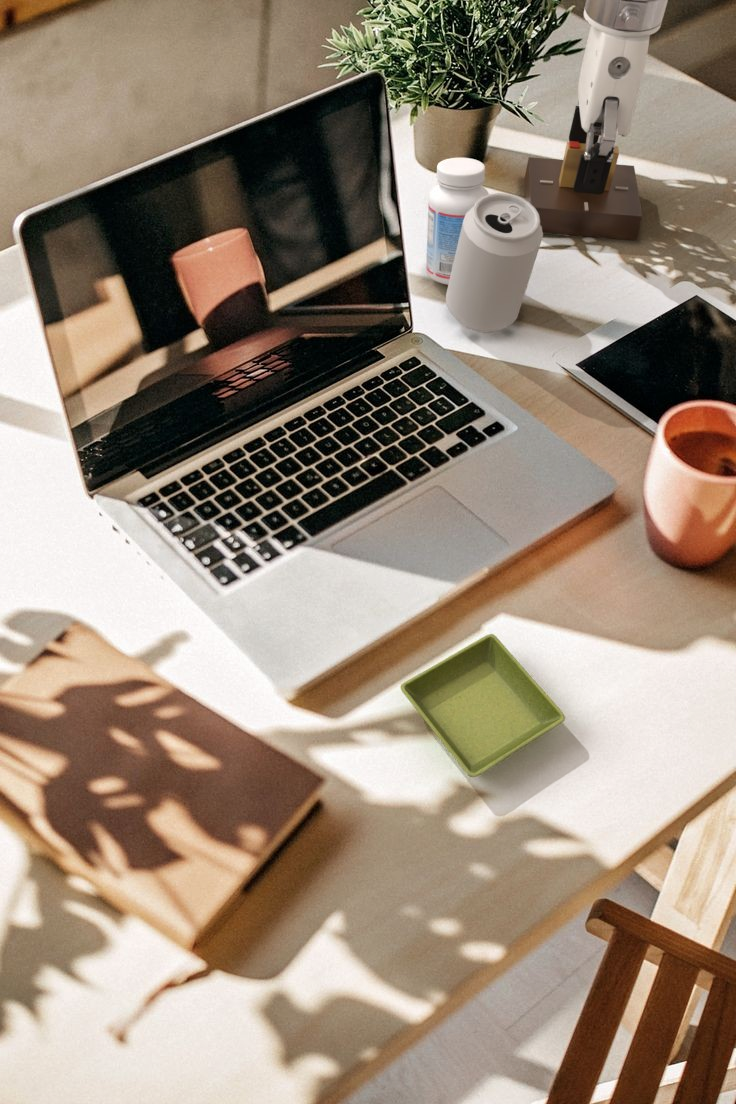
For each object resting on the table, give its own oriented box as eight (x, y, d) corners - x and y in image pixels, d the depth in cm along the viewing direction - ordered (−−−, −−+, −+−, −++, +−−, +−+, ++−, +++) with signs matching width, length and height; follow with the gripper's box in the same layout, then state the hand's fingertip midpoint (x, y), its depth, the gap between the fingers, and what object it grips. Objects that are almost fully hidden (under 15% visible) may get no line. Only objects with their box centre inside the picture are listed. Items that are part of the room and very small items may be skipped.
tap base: (627, 189, 119) (634, 164, 117) (635, 240, 113) (642, 215, 111) (524, 180, 119) (528, 155, 117) (526, 231, 113) (531, 205, 111)
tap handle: (608, 183, 114) (618, 144, 111) (609, 191, 113) (619, 151, 110) (558, 179, 114) (567, 139, 111) (559, 186, 113) (568, 146, 110)
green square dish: (562, 732, 75) (568, 718, 73) (468, 792, 71) (471, 779, 70) (488, 646, 79) (492, 631, 77) (395, 700, 76) (397, 685, 74)
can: (428, 306, 103) (449, 208, 93) (476, 273, 106) (501, 175, 96) (485, 349, 101) (512, 253, 91) (532, 313, 104) (564, 217, 94)
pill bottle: (496, 274, 107) (506, 165, 99) (457, 293, 104) (464, 183, 96) (452, 255, 110) (458, 149, 103) (413, 274, 107) (416, 165, 99)
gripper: (675, 50, 93) (626, 216, 107) (655, -32, 104) (613, 128, 118) (592, 42, 93) (554, 209, 107) (581, -39, 104) (547, 121, 118)
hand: (585, 166), depth 112 cm, fingers open, 9 cm apart
